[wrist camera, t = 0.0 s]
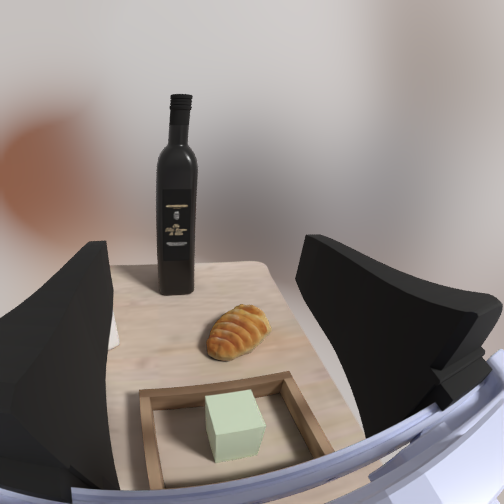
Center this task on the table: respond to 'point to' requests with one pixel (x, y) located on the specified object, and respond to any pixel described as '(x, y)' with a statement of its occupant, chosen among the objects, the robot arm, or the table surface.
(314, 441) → the box
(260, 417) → the wood block
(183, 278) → the wine bottle
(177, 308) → the table surface
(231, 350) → the pastry
